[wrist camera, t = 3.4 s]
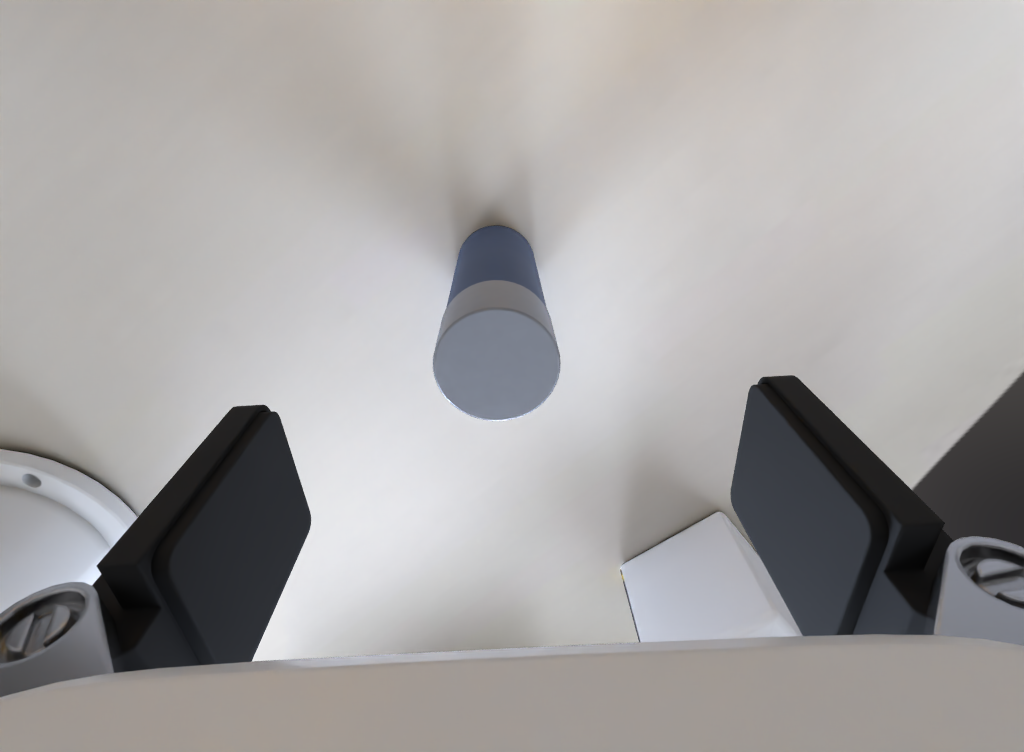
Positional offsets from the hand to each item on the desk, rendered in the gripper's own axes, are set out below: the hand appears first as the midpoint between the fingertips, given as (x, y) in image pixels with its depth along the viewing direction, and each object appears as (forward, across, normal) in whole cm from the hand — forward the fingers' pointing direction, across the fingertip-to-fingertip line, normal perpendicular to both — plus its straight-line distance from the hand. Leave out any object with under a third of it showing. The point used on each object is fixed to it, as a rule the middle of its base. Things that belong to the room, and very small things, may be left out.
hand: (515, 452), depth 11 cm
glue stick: (+14, +1, 0) cm, 14 cm away
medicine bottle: (+14, -10, +20) cm, 27 cm away
